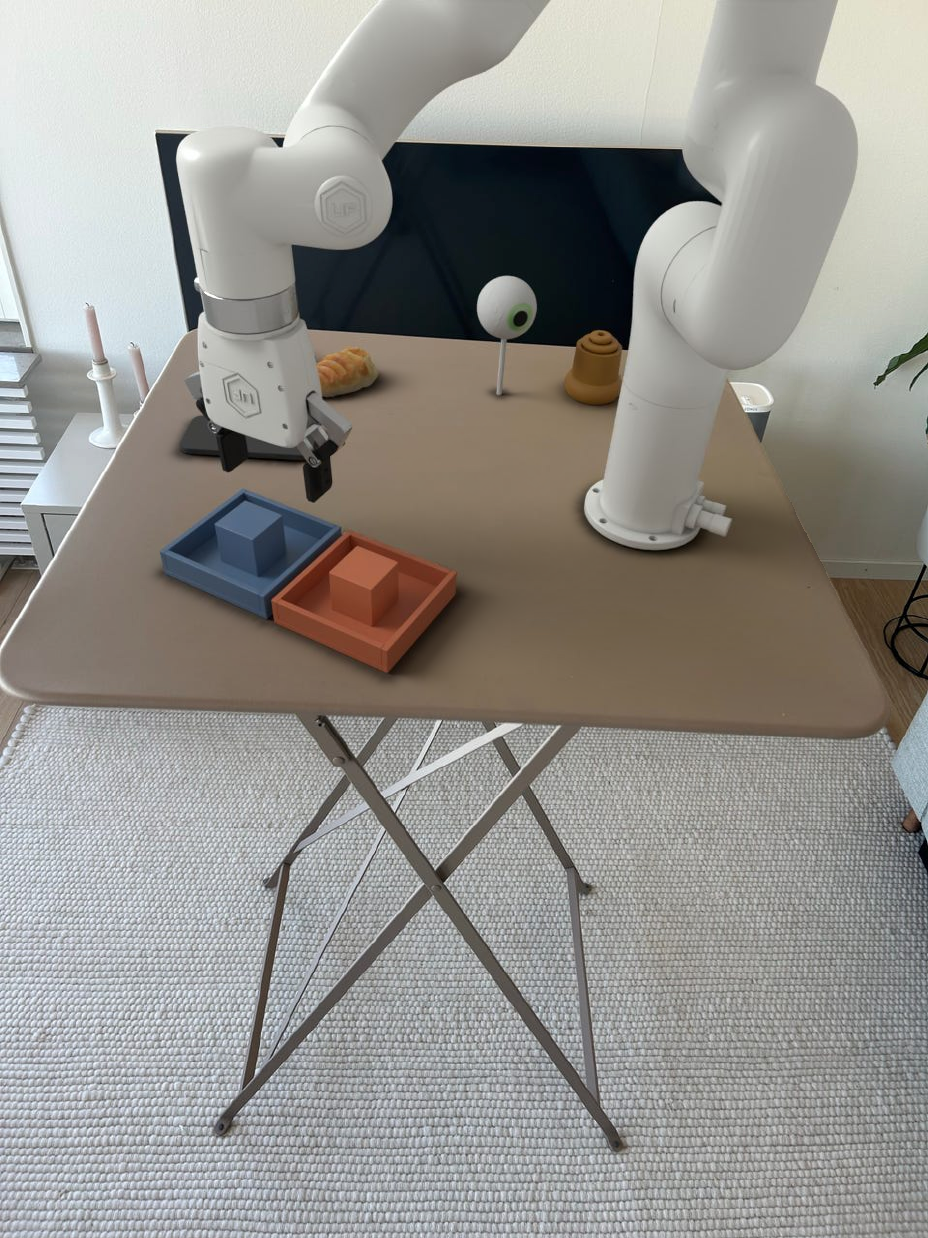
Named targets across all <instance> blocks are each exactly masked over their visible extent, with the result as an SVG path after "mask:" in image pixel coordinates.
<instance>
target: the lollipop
mask: <svg viewBox="0 0 928 1238" xmlns="http://www.w3.org/2000/svg"><path fill="white" fill-rule="evenodd" d="M537 305H538V304H537V299H536V295H535V293H534V291H533V289H532V288H531V286H530V285H529V284H528V283H527V282H526V281H524V280H523V279H521V278H519V277H516V276H511V275H502V276H497V277H496V278H493V279H492V280H490V281H489V282H488V283H486V284H485V285H484V287H483V288H482V289H481V291H480V293H479V295H478V298H477V304H476V312H477V317H478V320H479V322H480V325H481V326H482V328H484V330H485V331H486V332H487V333H488V334H490V336H492V337H494V338H497V339H500V346H499V347H500V348H499V350H500V351H499V359H498V360H499V361H498V372H497V385H496V395H497V396H501V395H502V394H503V384H504V372H505V364H506V363H505V362H506V351H507V340H511V339H515V338H518V337H520V336H521V335H523V334H525V333H527V331H528V330H529V329H530V328H531V327H532V325H533V323H534V321H535V318H536V314H537V310H538V308H537V307H538V306H537Z"/></svg>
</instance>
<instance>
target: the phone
mask: <svg viewBox="0 0 928 1238" xmlns="http://www.w3.org/2000/svg"><path fill="white" fill-rule="evenodd" d="M208 422H209V421H208V420H207V419H206V418H205V416H204V415H203V414H202V415H197V416H194V417H193V418H192V419H191V421H190V422H189V425H188V426H187V428H186V430H185V432H184V434H183V436H182V438H181V440H180V442H179V448H180V451H181V452H182V453H184V454H189V455H203V456H204V455H207V456H220V455H219V449H218V444H217V439H216V434H214V433H212V432H211V431H210V430H209V428H208ZM245 437H246V442H247V448H248V454H249V457H248V458H257V459H274V460H293V461H306V459H305V458H304V457H303V455H302V454H301V452H300V451H299V450H298V448H297V447H296V446H295V447H293V448H285V447H281V446H277V445H274V444H271V443H268V442H265V441H262V440H259V439H256V438H253V437H250V436H247V435H245ZM306 438H307V439H308V441H309V442H310V444H311V445H312V446H313V448H314V449H315V450H316V445H317V443H316V441H315V440H314V438H313V437H312V436H311V434H310V435H308V436H307V437H306Z"/></svg>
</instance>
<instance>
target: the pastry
mask: <svg viewBox="0 0 928 1238" xmlns="http://www.w3.org/2000/svg"><path fill="white" fill-rule="evenodd" d="M317 368H318V373H319V379H320V385H321V392H322V398H323V397H325V398H329V397H331V398H334V397H336V396H339V395H342V396H343V395H347V394H350V393H354V392H357V391H359V390H362V389H363V388H367V387H370V386H372V384H374V382H375V381H376V379H377V378H378V377H379V376H378V370H377V368H376V365H375V363H374V362H373V360H372V358H371V356H370V353H368V352H367V351H366V350H365V349H363V348H361V347H360V346H355V347H353V346H349V345H348V346H347V347H346V348H344V349H343V350H340V351H336V352H332V353H328V354H327V355H324V356H323V358H322V359H321V360H320V361H319V362H317Z"/></svg>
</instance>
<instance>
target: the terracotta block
mask: <svg viewBox="0 0 928 1238" xmlns="http://www.w3.org/2000/svg"><path fill="white" fill-rule="evenodd" d="M329 577H330V592H331V606H332V610H335V611H337V612H339V613H342V614H344V615H346V616H349V617H351V618H353V619H356V620H358V621H360V622H363V623H365V624H367V625H369V626H372V627H373V626H374V625H375V624H376V623H377V621H378V620H379V619H380V618H381V617H382V616H383V615H384V614H385V613H386V612H387V611H388V610H389V608H390V607H391V606H392V605H393V604H394V603H395V602H396V601H397V600H398V562H397V561H394V560H392V559H389V558H387V557H384V556H382V555H379V554H376V553H374V552H371V551H369V550H366V549H364V548H361V547H359V546H356V547H355V548H354V549H353V550H352V551H351V552H350V553H349V554H348V555H347V556H346V557H345V558H344V559H343V560H342V561H341V562H340V563H338V564H337V565H336V566H335V567H334V568H333V569H332V570H331V571H330V572H329Z"/></svg>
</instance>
